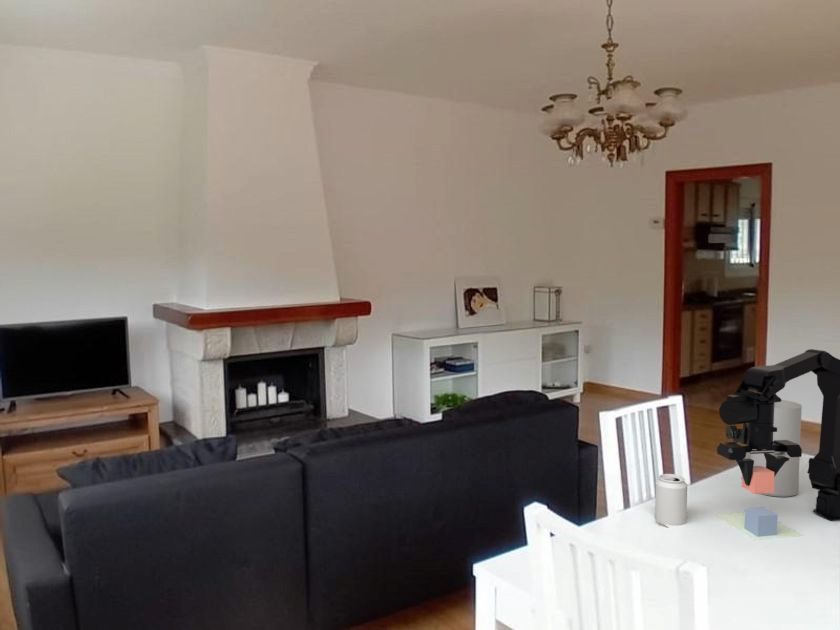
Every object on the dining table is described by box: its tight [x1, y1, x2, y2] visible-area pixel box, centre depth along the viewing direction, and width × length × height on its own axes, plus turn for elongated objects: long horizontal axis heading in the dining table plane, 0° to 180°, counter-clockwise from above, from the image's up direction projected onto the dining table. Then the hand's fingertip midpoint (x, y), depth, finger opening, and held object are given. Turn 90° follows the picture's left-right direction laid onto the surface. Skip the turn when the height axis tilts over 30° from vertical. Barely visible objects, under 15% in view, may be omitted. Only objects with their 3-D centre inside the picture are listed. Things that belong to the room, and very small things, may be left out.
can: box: [654, 473, 688, 529], centre depth 174 cm, size 8×8×12 cm
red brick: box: [741, 466, 774, 494], centre depth 168 cm, size 5×5×5 cm
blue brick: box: [744, 506, 779, 537], centre depth 166 cm, size 5×5×5 cm
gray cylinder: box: [750, 399, 803, 498], centre depth 197 cm, size 12×12×25 cm
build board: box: [714, 511, 805, 541], centre depth 171 cm, size 13×16×1 cm
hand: (757, 484), depth 168 cm, fingers closed on red brick, 5 cm apart
